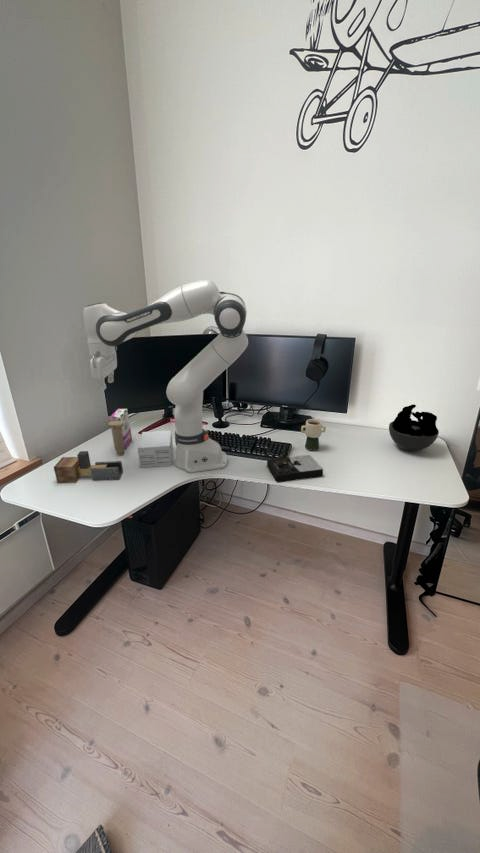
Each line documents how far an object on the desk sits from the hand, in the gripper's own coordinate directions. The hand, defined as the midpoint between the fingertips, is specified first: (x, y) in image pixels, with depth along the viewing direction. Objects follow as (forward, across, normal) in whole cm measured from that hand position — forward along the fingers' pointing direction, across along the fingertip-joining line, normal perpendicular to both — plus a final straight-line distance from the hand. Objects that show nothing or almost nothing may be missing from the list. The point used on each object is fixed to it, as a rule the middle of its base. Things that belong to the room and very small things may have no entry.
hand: (107, 385), depth 135 cm
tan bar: (+33, -10, +10) cm, 36 cm away
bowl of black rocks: (+34, +6, -128) cm, 133 cm away
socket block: (+34, -10, +16) cm, 39 cm away
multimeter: (+35, -11, -72) cm, 81 cm away
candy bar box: (+34, +18, +3) cm, 39 cm away
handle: (+34, +9, +2) cm, 36 cm away
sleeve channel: (+34, -10, +2) cm, 36 cm away
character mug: (+34, +9, -84) cm, 91 cm away
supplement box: (+34, +5, -15) cm, 38 cm away
